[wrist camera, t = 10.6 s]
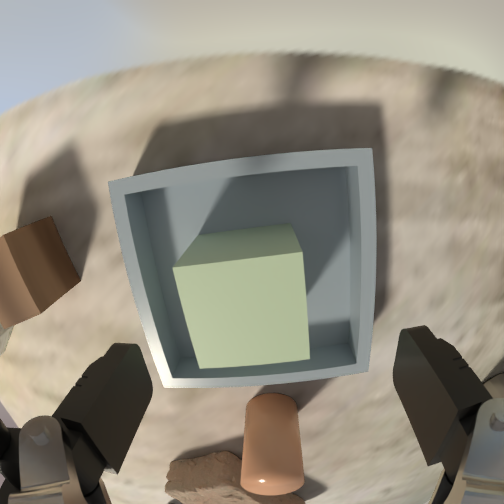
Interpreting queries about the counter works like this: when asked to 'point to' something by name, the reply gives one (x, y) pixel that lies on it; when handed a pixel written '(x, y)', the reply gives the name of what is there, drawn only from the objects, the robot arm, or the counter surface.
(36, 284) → the walnut cube
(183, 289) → the green block
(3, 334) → the small box
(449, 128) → the counter surface
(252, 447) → the peach capsule
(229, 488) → the brick
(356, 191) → the tray
